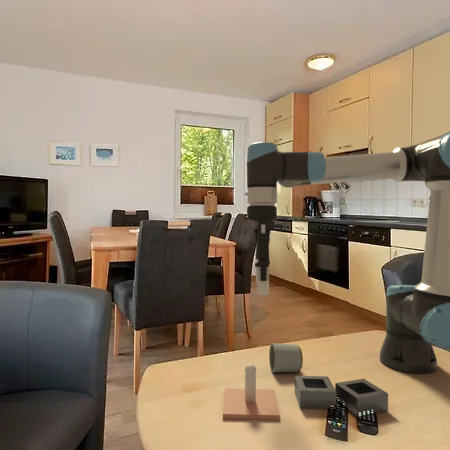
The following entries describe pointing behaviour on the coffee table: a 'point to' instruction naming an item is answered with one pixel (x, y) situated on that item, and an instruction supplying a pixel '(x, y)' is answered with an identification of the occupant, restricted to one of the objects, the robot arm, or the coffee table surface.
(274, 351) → the ceramic mug
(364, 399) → the grey square hollow block
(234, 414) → the brown base with peg
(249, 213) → the robot arm
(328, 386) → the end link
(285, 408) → the coffee table surface
